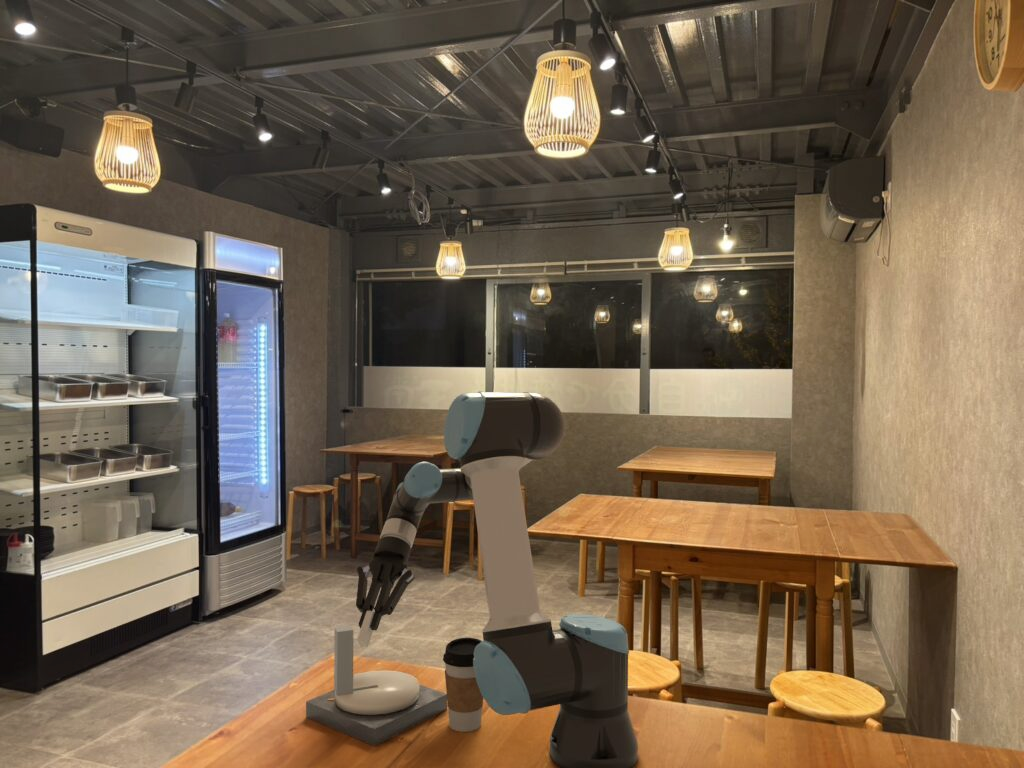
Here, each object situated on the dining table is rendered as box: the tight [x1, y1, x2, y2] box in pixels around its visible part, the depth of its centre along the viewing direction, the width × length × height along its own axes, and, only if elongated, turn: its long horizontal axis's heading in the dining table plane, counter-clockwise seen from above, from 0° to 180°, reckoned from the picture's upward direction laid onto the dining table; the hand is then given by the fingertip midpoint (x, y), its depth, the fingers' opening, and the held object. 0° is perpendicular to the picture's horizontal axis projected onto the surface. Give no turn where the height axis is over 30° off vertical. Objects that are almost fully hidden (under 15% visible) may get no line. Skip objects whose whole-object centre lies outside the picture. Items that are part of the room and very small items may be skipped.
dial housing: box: [305, 684, 448, 747], centre depth 147 cm, size 19×19×3 cm
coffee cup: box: [442, 637, 484, 733], centre depth 142 cm, size 8×8×15 cm
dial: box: [333, 624, 420, 715], centre depth 147 cm, size 16×16×14 cm
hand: (362, 643), depth 154 cm, fingers closed
